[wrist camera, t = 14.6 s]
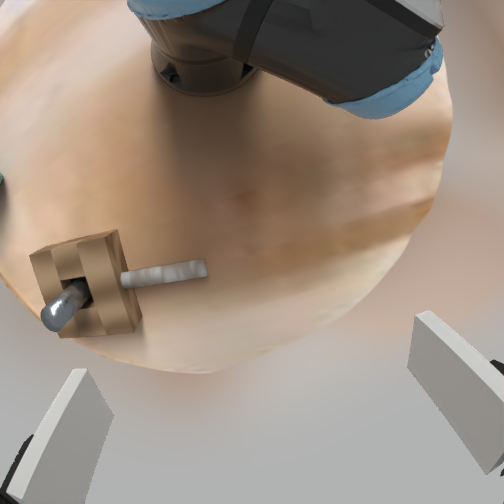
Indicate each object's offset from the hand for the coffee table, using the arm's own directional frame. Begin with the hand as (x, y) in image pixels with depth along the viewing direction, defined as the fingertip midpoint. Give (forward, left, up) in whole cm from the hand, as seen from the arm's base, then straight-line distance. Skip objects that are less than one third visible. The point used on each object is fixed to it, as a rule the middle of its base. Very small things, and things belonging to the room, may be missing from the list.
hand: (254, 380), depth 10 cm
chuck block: (+5, -18, -32) cm, 37 cm away
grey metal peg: (+5, -24, -32) cm, 40 cm away
